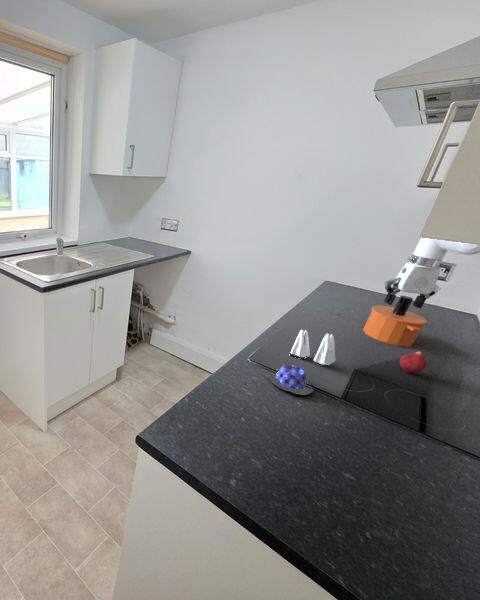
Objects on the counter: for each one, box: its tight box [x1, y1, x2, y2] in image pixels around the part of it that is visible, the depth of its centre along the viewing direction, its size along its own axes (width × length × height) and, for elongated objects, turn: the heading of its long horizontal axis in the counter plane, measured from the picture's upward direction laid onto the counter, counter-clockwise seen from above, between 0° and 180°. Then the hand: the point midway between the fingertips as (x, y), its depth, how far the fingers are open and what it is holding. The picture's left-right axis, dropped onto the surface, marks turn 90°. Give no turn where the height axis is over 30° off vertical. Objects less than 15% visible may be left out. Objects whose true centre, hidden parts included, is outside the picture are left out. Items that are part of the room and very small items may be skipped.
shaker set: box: [290, 329, 337, 366], centre depth 102 cm, size 12×4×11 cm, turn 49°
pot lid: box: [371, 295, 428, 326], centre depth 118 cm, size 16×16×8 cm
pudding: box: [275, 363, 307, 389], centre depth 91 cm, size 12×12×5 cm
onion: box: [398, 351, 427, 374], centre depth 99 cm, size 6×6×8 cm
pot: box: [362, 310, 424, 348], centre depth 121 cm, size 15×20×10 cm
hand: (402, 305), depth 118 cm, fingers open, 9 cm apart
